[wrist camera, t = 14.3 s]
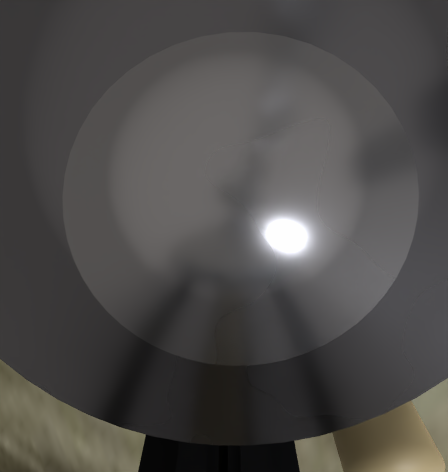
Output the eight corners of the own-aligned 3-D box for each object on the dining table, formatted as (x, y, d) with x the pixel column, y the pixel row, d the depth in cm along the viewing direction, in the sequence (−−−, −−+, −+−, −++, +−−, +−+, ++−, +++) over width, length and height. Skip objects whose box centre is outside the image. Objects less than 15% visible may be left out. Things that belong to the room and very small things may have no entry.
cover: (50, 51, 8) (-417, 25, 2) (298, -99, 7) (659, -877, 1) (180, 263, 10) (118, 549, 4) (389, 168, 9) (695, 369, 3)
